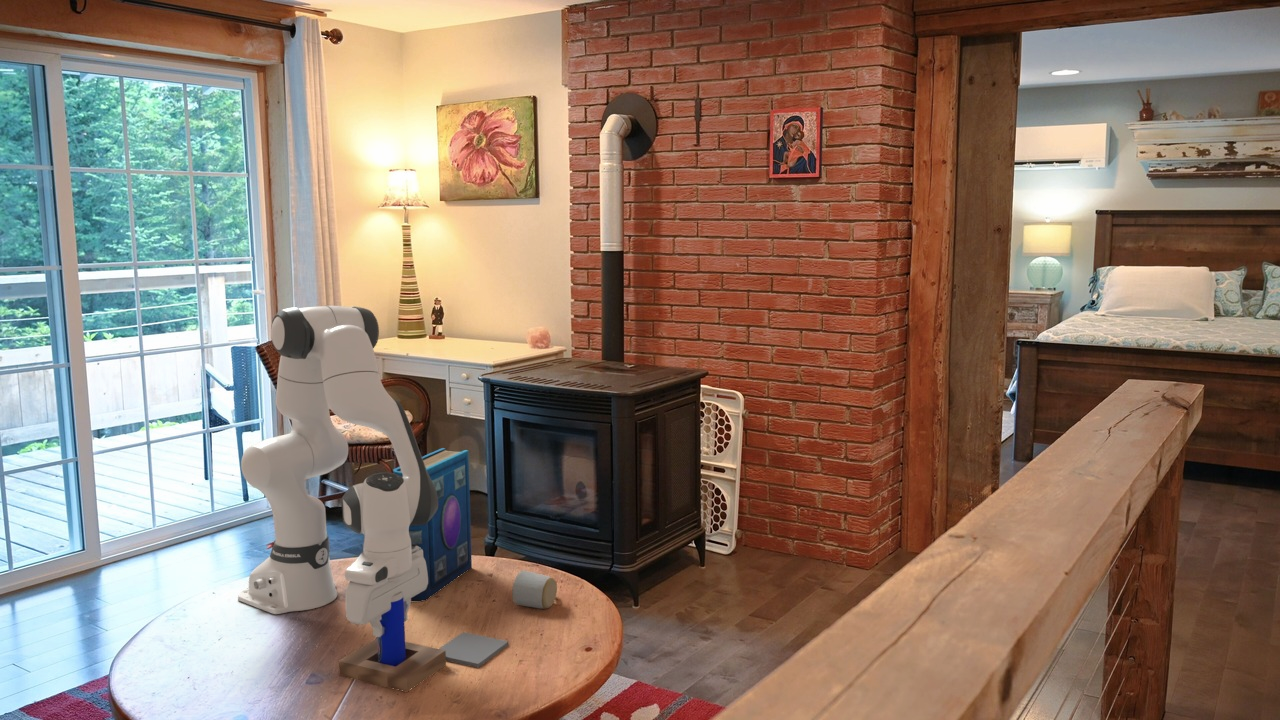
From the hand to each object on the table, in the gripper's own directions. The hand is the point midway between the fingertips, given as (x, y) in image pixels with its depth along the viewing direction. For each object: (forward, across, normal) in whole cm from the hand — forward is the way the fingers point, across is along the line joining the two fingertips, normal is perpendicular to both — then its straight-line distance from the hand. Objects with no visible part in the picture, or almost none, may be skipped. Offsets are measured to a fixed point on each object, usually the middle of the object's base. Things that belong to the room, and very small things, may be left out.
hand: (390, 628), depth 183 cm
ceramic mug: (+9, -40, +9) cm, 42 cm away
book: (+9, -40, -19) cm, 45 cm away
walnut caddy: (+8, 0, 0) cm, 9 cm away
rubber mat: (+8, -13, +9) cm, 18 cm away
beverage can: (+8, 0, 0) cm, 8 cm away
